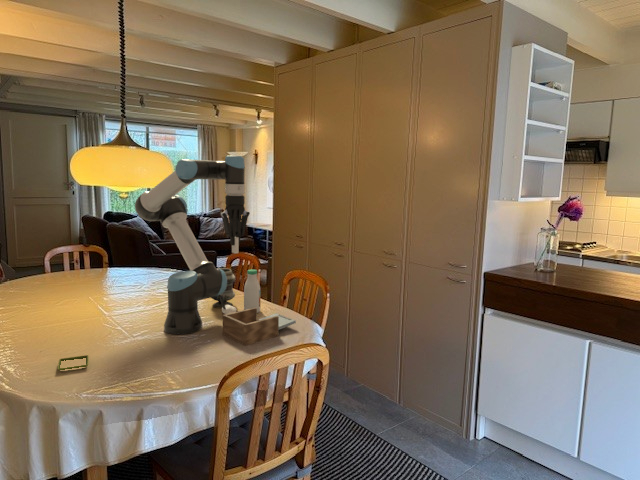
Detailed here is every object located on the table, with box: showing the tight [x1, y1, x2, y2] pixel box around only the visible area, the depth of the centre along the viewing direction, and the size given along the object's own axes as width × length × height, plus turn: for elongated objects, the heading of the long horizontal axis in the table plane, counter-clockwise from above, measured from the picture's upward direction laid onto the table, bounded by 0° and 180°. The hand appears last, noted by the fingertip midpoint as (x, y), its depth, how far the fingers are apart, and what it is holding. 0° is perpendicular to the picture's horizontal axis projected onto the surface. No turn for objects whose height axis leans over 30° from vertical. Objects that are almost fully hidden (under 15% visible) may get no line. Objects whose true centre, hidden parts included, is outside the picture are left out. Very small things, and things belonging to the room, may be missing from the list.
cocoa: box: [219, 295, 238, 315], centre depth 195 cm, size 10×6×12 cm, turn 114°
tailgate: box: [257, 312, 297, 331], centre depth 187 cm, size 2×13×10 cm
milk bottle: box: [243, 268, 261, 314], centre depth 207 cm, size 8×8×20 cm
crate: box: [221, 308, 280, 346], centre depth 177 cm, size 16×16×8 cm
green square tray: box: [57, 354, 90, 371], centre depth 145 cm, size 9×9×2 cm
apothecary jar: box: [211, 267, 236, 309], centre depth 215 cm, size 12×12×18 cm
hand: (235, 252), depth 179 cm, fingers closed
